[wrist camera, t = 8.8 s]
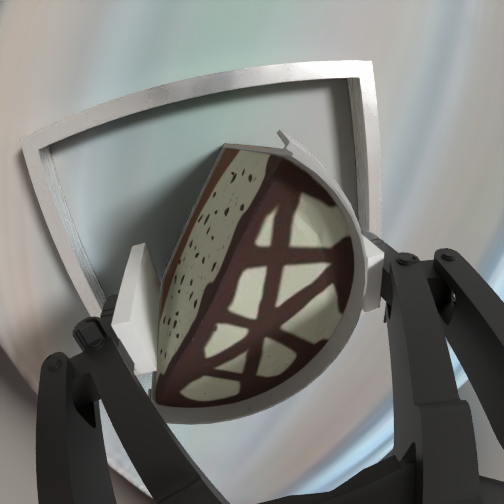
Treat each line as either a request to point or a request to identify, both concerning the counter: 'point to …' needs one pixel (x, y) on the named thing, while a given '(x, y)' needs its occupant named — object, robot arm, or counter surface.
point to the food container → (257, 286)
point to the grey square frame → (40, 140)
